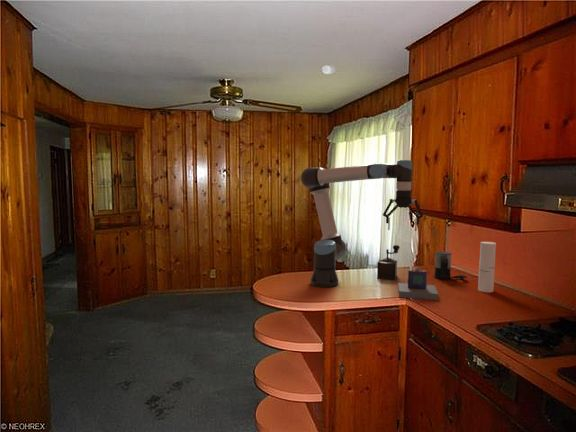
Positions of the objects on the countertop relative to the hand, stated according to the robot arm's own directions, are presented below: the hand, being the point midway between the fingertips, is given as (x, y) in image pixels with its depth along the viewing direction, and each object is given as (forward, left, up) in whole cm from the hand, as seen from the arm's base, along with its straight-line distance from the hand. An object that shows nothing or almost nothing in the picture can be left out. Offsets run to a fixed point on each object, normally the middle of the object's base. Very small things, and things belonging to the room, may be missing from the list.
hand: (402, 230), depth 213 cm
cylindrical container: (+43, +3, -31) cm, 53 cm away
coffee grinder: (-6, +20, -31) cm, 37 cm away
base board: (+8, -12, -30) cm, 34 cm away
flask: (+8, -12, -28) cm, 31 cm away
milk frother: (+28, +24, -31) cm, 48 cm away
